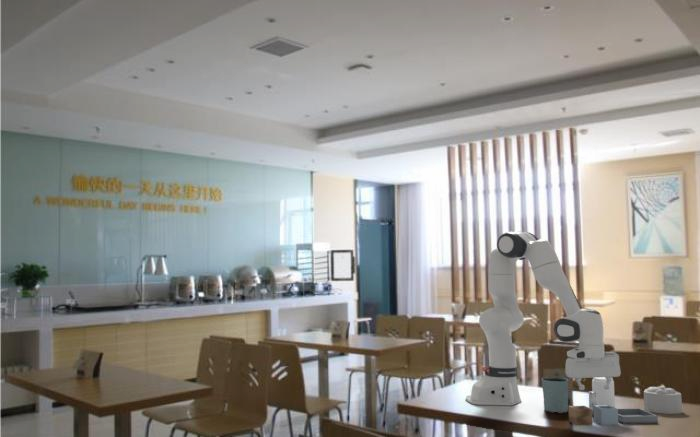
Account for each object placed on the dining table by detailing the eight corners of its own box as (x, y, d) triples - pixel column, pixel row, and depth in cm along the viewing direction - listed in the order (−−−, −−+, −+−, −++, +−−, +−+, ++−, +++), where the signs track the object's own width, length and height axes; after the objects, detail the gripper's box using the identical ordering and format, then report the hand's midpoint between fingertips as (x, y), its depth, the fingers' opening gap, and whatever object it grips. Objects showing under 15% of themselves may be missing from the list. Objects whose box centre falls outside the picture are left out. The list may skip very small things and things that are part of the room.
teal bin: (565, 414, 238) (564, 382, 238) (539, 411, 243) (538, 379, 244) (571, 409, 246) (571, 378, 247) (545, 406, 251) (545, 375, 252)
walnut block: (576, 425, 221) (575, 409, 222) (568, 421, 227) (568, 405, 228) (592, 425, 222) (591, 409, 222) (584, 421, 228) (584, 405, 228)
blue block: (602, 425, 222) (601, 409, 223) (594, 420, 228) (593, 405, 229) (618, 424, 223) (617, 408, 223) (610, 420, 229) (609, 405, 229)
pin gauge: (591, 417, 233) (590, 392, 234) (588, 415, 236) (587, 391, 236) (598, 417, 233) (597, 392, 234) (595, 415, 236) (594, 391, 236)
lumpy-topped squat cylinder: (646, 406, 251) (645, 384, 252) (682, 409, 245) (681, 387, 246) (643, 411, 242) (642, 388, 243) (681, 415, 236) (680, 392, 237)
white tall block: (616, 411, 242) (615, 379, 243) (594, 410, 244) (593, 379, 245) (612, 406, 250) (611, 376, 251) (591, 405, 252) (590, 375, 253)
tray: (622, 423, 223) (622, 416, 223) (606, 415, 235) (606, 408, 235) (657, 423, 224) (657, 415, 224) (640, 415, 236) (639, 408, 236)
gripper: (614, 350, 240) (616, 387, 239) (562, 351, 238) (564, 388, 237) (622, 352, 234) (624, 390, 232) (569, 354, 232) (571, 392, 231)
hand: (594, 389), depth 235 cm, fingers open, 8 cm apart
